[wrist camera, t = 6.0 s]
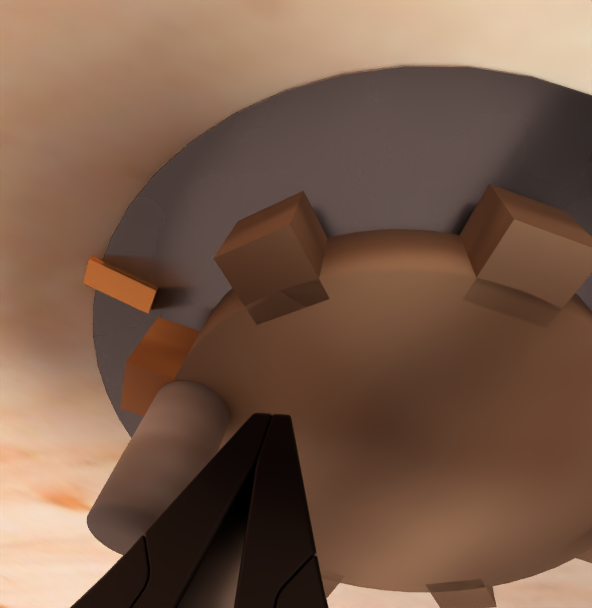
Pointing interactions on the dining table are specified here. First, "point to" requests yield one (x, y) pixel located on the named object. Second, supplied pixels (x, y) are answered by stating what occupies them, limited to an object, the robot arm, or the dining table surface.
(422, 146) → the sprocket base
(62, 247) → the dining table surface
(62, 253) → the dining table surface
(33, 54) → the dining table surface
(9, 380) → the dining table surface
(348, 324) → the sprocket
